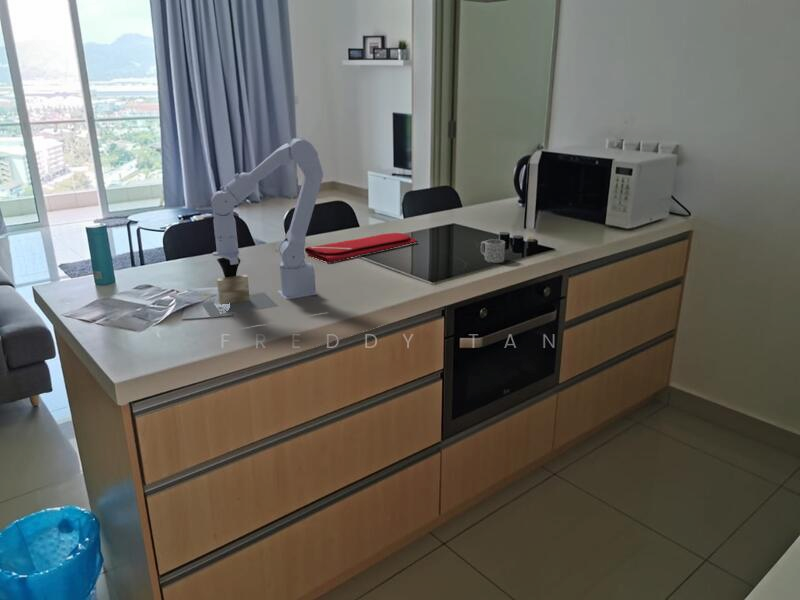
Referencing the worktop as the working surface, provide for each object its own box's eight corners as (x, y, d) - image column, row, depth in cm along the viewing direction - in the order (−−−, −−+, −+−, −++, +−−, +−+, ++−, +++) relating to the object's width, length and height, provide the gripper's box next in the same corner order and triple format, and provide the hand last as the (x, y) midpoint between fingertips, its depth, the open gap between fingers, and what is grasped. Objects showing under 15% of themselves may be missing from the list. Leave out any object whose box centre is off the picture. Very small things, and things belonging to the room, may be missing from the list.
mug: (508, 260, 206) (509, 242, 204) (494, 264, 203) (495, 245, 200) (487, 254, 214) (488, 236, 212) (473, 257, 210) (474, 239, 208)
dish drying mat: (418, 245, 229) (418, 235, 228) (328, 265, 204) (328, 254, 203) (392, 237, 240) (392, 228, 239) (304, 256, 215) (303, 246, 214)
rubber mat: (264, 293, 175) (264, 292, 175) (278, 307, 164) (277, 305, 164) (201, 304, 167) (201, 302, 167) (211, 319, 156) (211, 317, 156)
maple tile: (247, 297, 170) (245, 274, 168) (249, 300, 169) (247, 276, 166) (219, 302, 167) (216, 278, 164) (221, 304, 165) (218, 280, 163)
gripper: (205, 232, 168) (211, 278, 172) (216, 243, 156) (222, 292, 160) (230, 229, 171) (235, 274, 175) (243, 239, 159) (248, 288, 163)
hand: (231, 283), depth 168 cm, fingers closed
